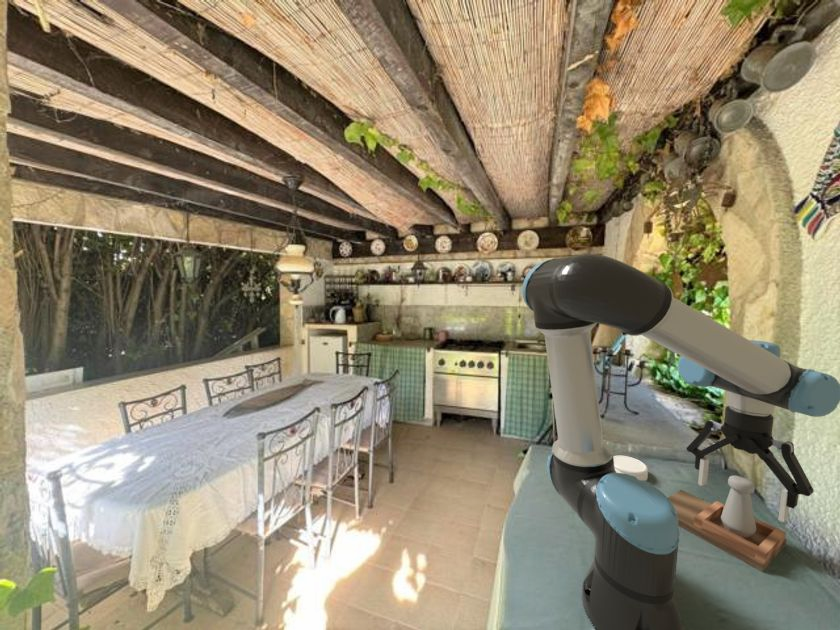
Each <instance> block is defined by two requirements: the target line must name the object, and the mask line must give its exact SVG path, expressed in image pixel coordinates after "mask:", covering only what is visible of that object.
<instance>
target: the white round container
mask: <svg viewBox="0 0 840 630" xmlns="http://www.w3.org/2000/svg"><path fill="white" fill-rule="evenodd" d="M613 459H614V467H615V471H616V473H623V474H628V475H632V476H635V477H636V478H637V479H638V480H644V481H646V482H647V481H648V478H649V477H648V475H649V468H648V466H647V465H646V464H645V463H644V462H642V461H641V460H639V459H637V458H634V457H632V456H627V455H613Z"/></svg>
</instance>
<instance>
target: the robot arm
mask: <svg viewBox="0 0 840 630" xmlns="http://www.w3.org/2000/svg"><path fill="white" fill-rule="evenodd" d="M521 292H522V299H523V301H524V304H525V305H526V306H527V307H528V308H529V310H530V311H532V313H533V319H534V327H535V329H536V330H537V331H538V332H540V333H541V334H542V335H543V336H544V342H545V348H546V356H547V358H546V359H547V364H548V372H549V379H550V386H551V394H552V401H553V402H552V403H553V409H554V410H553V411H554V417H555V423H556V431H557V440H555V441H554V442H553V444H552V448H551V454H550V455H547V456H548V457H547V460H546V461H547V462H546V471H547V476H548V478H549V481H550V482H551V484H552V486H553V487H554V489H555V491H556V493H558V494H559V495H560V496H561V497H562V499H563V500H564V501H565V503H566V504H567V505H568V506H569V507H570V508H571V509H572V510H573V511H574V513H575V514H576V515H577V516H578V518H579V519H580V520H581V521H582V522H583V523H584V525H586V527H587V528H588V529H589V531H590V532H591V533H592V534H593V536H594V557H593V558H594V560H593V561H592V563H591V566H590V567H589V569H588V571H587V573H586V574H585V577H584V579H583V582H582V587H581V589H582V590H581V603H582V602H583V603H582V606H584V607H583V610H584V609H585V610H584V612H585V611H586V613H585V615H586V614H587V615H586V617H587V616H588V617H587V619H588V618H589V619H590V620H589V619H588V620H589V622H590V621H591V622H592V623H591V622H590V623H591V625H592V624H593V625H592V626H593V627H594V626H595V628H596V629H597V630H685V626H684V622H683V619H682V616H681V613H680V609H679V606H678V603H677V599H676V597H675V584H676V583H675V582H676V575H677V574H676V572H677V564H678V563H677V561H678V553H679V552H678V551H679V543H680V535H681V534H680V529H679V528H680V527H679V525H678V516H677V512H676V510H675V508H674V506H673V504H672V503H671V501H670V500H669V499H668V496H667V495H666V494H665V493H663V492H662V491H661V490H660V489H659V488H658V487H656V486H655V485H653V484H652V483H650V482H649V481H647V480H646V481H644V480H638V479H637V478H636V477H635V476H632V475H628V474H623V473H616V471H615V467H614V459H613V456H614V453H613V449H612V447H611V446H610V445H609V444H608V443H607V442H605V441H604V438H603V429H602V421H601V413H600V412H601V411H600V404H599V398H598V397H599V396H598V389H597V388H598V387H597V378H596V371H595V362H594V354H593V345H592V337H591V331H592V330H593V329H594V328H595V327H596V325H597V324H599V325H603V326H607V327H610V328H614V329H616V330H618V331H620V332H622V333H624V334H626V335H627V336H632V337H633V336H634V337H635V336H636V337H637V336H638V337H639V336H643V337H645V338H647V339H648V340H650V341H652V342H654V343H656V344H658V345H660V346H661V347H664V348H665V349H667V350H669V351H671V352H672V353H675V354H677V355H679V356H680V357H679V359H678V361H677V363H678V364H677V371H678V374H679V376H680V378H681V380H683V382H685V383H686V384H688V385H690V386H693V387H702V388H708V387H713V388H716V389H720V390H723V391H726V399H725V404H726V405H727V406H726V407H725V409H724V419H723V424H722V423H719V422H717V421H716V420H715V419H713V418H712V419H710V420H707V421H706V422H705V425H704V427H703V428H704V429H703V430H702V431H701V432H700V433H698V434H697V436H696V437H695V438H694V439H693V440H692V441H691V442H690V444H688V446H687V447H686V451H687V452H688V453H692V454H693V455H694V456H695V457H694V458H695V460H694V462H695V463H694V467H695V468H694V469H695V470H698V481H697V485H699V486H701V487H703V486H704V485H706V484H708V476H709V475H708V473H709V465H710V464H709V462H710V457H708V456H706V455H708V454H712V453H713V452H715V451H718V450H719V449H721V448H723V447H725V446H727V445H730V446H731V447H733V449H736V450H740V451H744V452H746V453H748V454H751V455H755V454H756V455H757V456H758V457H759V458H760V459H761V460H762V461H763V462H764V463H765V464H766V466H767V467H768V469H770V471H771V472H772V473H773V475H775V477H776V478H777V480H778V481H779V482H780V483H781V485H782V486H783V487H784V488H783V489H782V490H781V491H780V492H781V493H780V502H779V511H778V518H777V519H778V521H780V523H784V522H786V520H788V519H789V512H790V508H791V509H793V510H794V509H795V508H796V507H797V506H798V504H799V495H802V496H805V497H809V496H811V495H812V494H813V493H814V491H815V490H814V488H813V486H812V485H811V484H812V483H810V481H809V478H808V477H807V475H806V473H805V471H804V469H803V467H802V465H801V463H800V461H799V460H798V458H797V456H796V453H795V444H794V443H793V442H792V441H782V440H781V441H780V440H777V439H774V438H773V435H772V434H773V427H774V419H775V417H774V416H773V415H772V414H774V413H775V409H776V407H778V408H782V409H785V410H787V411H790V412H791V413H797V414H802V415H805V416H809V417H813V418H816V417H817V418H821V417H825V416H827V415H830V414H831V413H833V412H834V411H835V410H836V409H837V408H838V406H839V403H840V382H839V381H838V379H837V378H835V377H834V376H833V375H831V374H828V373H824V372H822V371H818V370H817V371H816V370H814V369H812V368H803V367H798V366H797V365H794V364H792V363H790V362H788V361H787V360H785V359H783V358H781V348H780V346H779V345H778V344H776V343H774V342H770V341H762V340H757V339H756V340H754V339H748V338H746V337H744V336H743V335H740V334H739V333H738V332H735V331H734V330H732V329H730V328H728V327H726V326H725V325H723V324H721V323H719V322H717V321H716V320H714V319H712V318H711V317H709V316H708V315H707V314H704V313H702V312H701V311H698V310H697V309H695V308H693V307H692V306H689V305H688V304H686V303H684V302H683V301H681V300H679V299H678V298H676V297H674V293H673V291H672V289H671V287H669V286H668V285H667V284H666V283H664V282H661V281H660V280H658V279H657V278H655V277H653V276H652V275H649V274H648V273H646V272H643V271H641V270H640V269H638V268H636V267H634V266H633V265H630V264H628V263H625V262H622V261H621V260H618V259H615V258H612V257H610V256H606V255H602V254H598V253H597V254H596V253H583V254H578V255H573V256H565V257H559V258H558V257H556V258H555V257H554V258H551V259H547V260H545V261H543V262H539V263H537V264H536V265H535V266H533V267H532V268H531V269H530V270H529V272H528V273H527V274H526V276H525V278H524V279H523V282H522V289H521ZM718 430H720V431H721V433H722V435H724V437H725V438H723V439H721V440H719V441H717V442H715V443H712V444H711V445H709V446H708V447H705V448H703V449H699V447H701V446H702V444H703V443H704V442H705V441H706V440H707V439H708V438H709V437H710V436H711V435H712V434H713V433H714V432H717V431H718ZM772 446H774V447H776V449H777V451H778V452H780V453H781V456H782V458H783V460H784V462H785V464H786V466H787V468H788V470H789V472H790V474H791V475H790V474H789V473H788V472H787V470H786V469H785V468H784V467H783V465H782V464H781V463H780V462H779V461H778V459H777V457H776V456H775V455H774V453H773V451H771V449H770V447H772ZM792 477H793V478H792ZM595 628H594V629H595ZM596 629H595V630H596Z"/></svg>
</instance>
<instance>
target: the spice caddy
mask: <svg viewBox="0 0 840 630" xmlns="http://www.w3.org/2000/svg"><path fill="white" fill-rule="evenodd" d="M667 498H668V499H669V500H670V501H671V503H672V504H673V506H674V508H675V510H676V512H677V516H678V527H679V528H683V529H684V530H686V531H688V532H689V533H691V534H693V535H695V536H697V537H699V538H700V539H702V540H703V541H706V542H707V543H709V544H711V545H713V546H715V547H717V549H718V548H719V549H720V550H722V551H724V552H726V553H728V554H729V555H732V556H733V557H735V558H736V559H738V560H740V561H742V562H744V563H746V564H748V565H750V566H751V567H752V568H755V569H756V570H758V571H760V572H762V573H763V572H764V571H765V570H766V568H767V567H768V566H769V565H770V564H771V563H772V562H773V561H774V559H775V558H776V557H777V556H778V555H779V554H780V552H781V551H782V550H783V549H784V548H785V547H786V546H785V545H787V538H786V535H787V532H786V531H784V530H782V529H780V528H777V527H775V526H773V525H771V524H768V523H766V522H764V521H762V520H759V519H757V518H755V524H756V532H755V534H754V535H753V536H752V537H751V538H750V539H744V538H742V537H740V536H738V535H736V534H734V533H732V532H730V531H728V530H726V529H725V527H724V525H723V522H722V520H721V515H722V512H723V509H724V506H725V504H724V502H721V501H718V500H716V501H714V502H713V503H711V502H708V501H706V500H704V499H702V498H700V497H698V496H696V495H693V494H691V493H689V492H687V491H685V490H684V489H683V490H682V489H680V490H678V491H676V492H675V493H673V494H671V495H670V496H667ZM784 546H785V547H784ZM783 547H784V548H783ZM782 548H783V549H782ZM778 553H779V554H778Z"/></svg>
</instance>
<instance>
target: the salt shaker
mask: <svg viewBox="0 0 840 630" xmlns="http://www.w3.org/2000/svg"><path fill="white" fill-rule="evenodd" d="M727 484H728V486H729V487H730V490H729V493H728V495H727V499H726V500H725V506H724V509H723V512H722V515H721V520H722V522H723V525H724V527H725V529H726V530H728V531H730V532H732V533H734V534H736V535H738V536H740V537H742V538H744V539H750V538H751V537H752V536H753V535H754V534H755V532H756V524H755V519H756V517H755V514H754V509H753V504H752V498H751V494H754V492H755V490H756V486H755V485H756V484H755V483H754V482H753V481H751V480H750V479H748V478H747V477H744V476H741V475H730V476H729V477H728V479H727Z"/></svg>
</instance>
